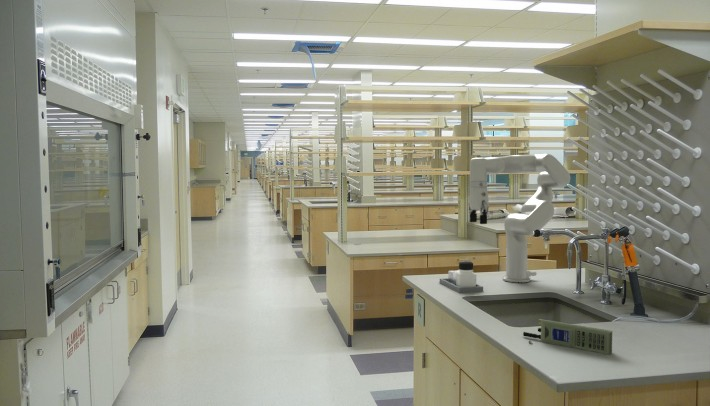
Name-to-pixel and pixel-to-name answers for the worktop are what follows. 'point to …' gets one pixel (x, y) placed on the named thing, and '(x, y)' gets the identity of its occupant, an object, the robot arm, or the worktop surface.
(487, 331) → the worktop surface
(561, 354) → the worktop surface
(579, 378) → the worktop surface
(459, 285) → the medicine bottle
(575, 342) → the handheld radio
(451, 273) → the steel block
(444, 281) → the bay tray
